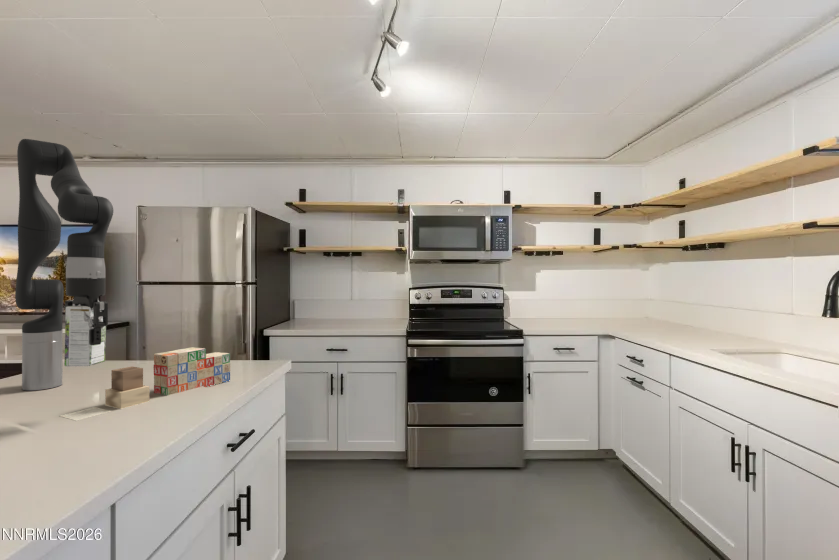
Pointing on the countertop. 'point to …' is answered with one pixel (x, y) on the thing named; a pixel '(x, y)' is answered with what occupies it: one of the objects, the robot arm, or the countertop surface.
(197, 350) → the stack of blocks
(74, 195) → the robot arm
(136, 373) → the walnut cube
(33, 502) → the countertop surface
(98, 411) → the pale flat slab
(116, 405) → the maple block
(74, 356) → the syrup box
